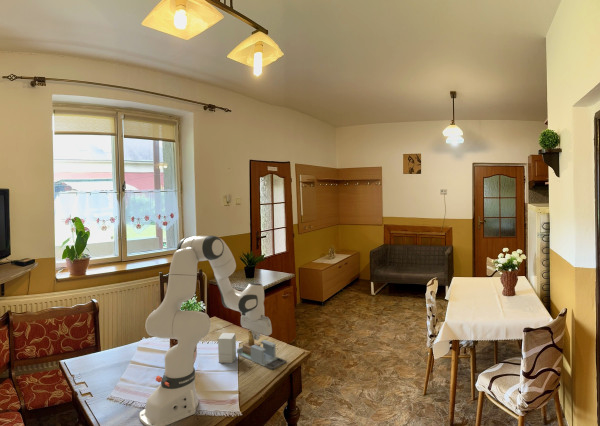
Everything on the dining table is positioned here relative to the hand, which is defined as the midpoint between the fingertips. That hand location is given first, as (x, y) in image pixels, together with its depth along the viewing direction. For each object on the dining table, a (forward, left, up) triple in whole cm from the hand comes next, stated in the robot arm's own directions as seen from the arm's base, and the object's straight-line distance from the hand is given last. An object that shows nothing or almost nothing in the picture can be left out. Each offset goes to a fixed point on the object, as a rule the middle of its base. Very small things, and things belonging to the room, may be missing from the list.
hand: (256, 339), depth 187 cm
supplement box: (-12, +9, -9) cm, 18 cm away
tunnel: (0, -4, -9) cm, 10 cm away
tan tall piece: (0, +4, -8) cm, 9 cm away
